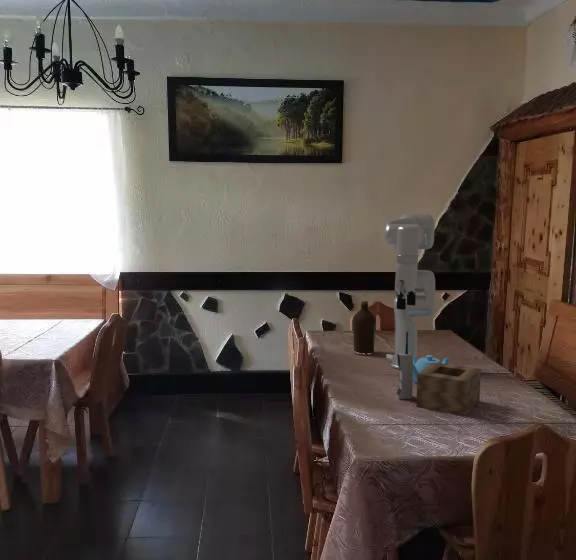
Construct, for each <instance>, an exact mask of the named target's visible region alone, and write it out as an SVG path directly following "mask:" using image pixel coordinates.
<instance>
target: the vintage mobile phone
mask: <svg viewBox="0 0 576 560" xmlns="http://www.w3.org/2000/svg"><path fill="white" fill-rule="evenodd" d="M397 358H398V366H399V370H398V373H399V375H398V377H399V378H398V388H397V392H396V393H395V394H396V397H397V398H398V400H412V399H413V382H414V380H413V355H412V354H411V353H408V332H406V352H405V353H397Z"/></svg>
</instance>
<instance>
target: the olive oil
mask: <svg viewBox="0 0 576 560" xmlns="http://www.w3.org/2000/svg"><path fill="white" fill-rule="evenodd" d="M360 302H361V303H360V309H359V311H358V312H357V313H355V315H354V316H353V318H352V319H353V320H352V329H353V352H354V351H356V352H359V353H365V354H367V353H373V352H374V353H375V338H376V337H375V336H376V324H377V323H376V322H377V321H376V317H375V315H374V314H373V313H372V312H371V311H370V310H369V304H368V303H369V301H368V300H361V301H360ZM374 353H373V354H374Z"/></svg>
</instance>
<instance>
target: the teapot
mask: <svg viewBox="0 0 576 560" xmlns="http://www.w3.org/2000/svg"><path fill="white" fill-rule="evenodd" d="M449 361H450V357H444V358H443V360H442V361H441V360H440V359H438V358H436V357H434V356H433V355H432V354H431V355H430V354H427V355H425V357H420V358H419V359H418V358H416V356H413V382H414V383H416V384H417V374H418V373H419V372H421V371H422V370H423V369H425V368H426V367H428V366H429V365H430V364H432V363H433V362H435V363H442V364H449Z"/></svg>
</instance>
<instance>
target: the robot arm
mask: <svg viewBox="0 0 576 560" xmlns="http://www.w3.org/2000/svg"><path fill="white" fill-rule="evenodd" d="M435 226H436V225H435V219H434V217H433V215H431V214H430V213H406V214H403V215H401V216H400V217H399V219H395V220H391V221H387V223H386V224H385V228H384V240H385V243H387V244H388V245H392V247H393V249H394V251H395V255H396V270H395V277H394V278H395V279H394V280H395V281H394V291H395V292H396V296H395V298H394V299H393V312H394V353H393V354H389V353H387V354H386V356H385V358H386V360H387V361H388V360H391V363H390V366H391V367H392V368H395V369H397V370H398V369H399V366H398V358H397V353H405V352H406V332H408V353H411V354H412V355H413V356H416V358H417V357H418V355H417V354H418V353H417V352H418V351H417V349H418V325H417V323H416V322H415V320H414V319H413V318H432V317H433V316H434V314H435V309H436V278H435V273H434V272H432V271H431V270H427V269H418V268H419V267H418V265H419V250H429V249H431V248H432V247H433V246H434V242H435ZM416 293H423V295H422V294H420V295H419V294H416ZM417 359H418V358H417Z"/></svg>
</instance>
